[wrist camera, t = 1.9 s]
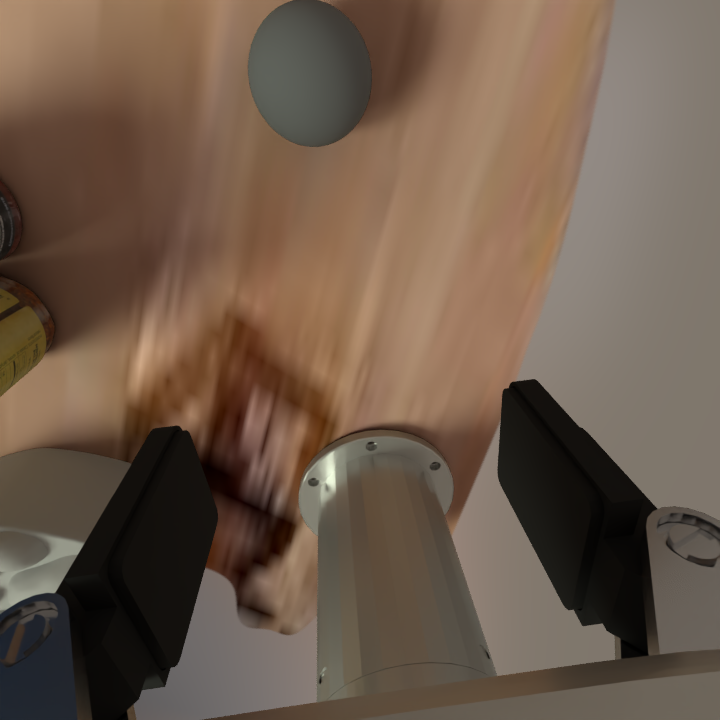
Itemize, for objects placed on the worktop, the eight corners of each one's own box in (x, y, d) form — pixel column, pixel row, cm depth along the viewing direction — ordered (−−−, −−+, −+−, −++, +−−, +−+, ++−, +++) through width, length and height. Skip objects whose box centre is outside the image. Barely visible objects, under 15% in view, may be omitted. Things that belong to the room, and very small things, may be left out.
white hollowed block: (151, 555, 37) (106, 664, 29) (-19, 534, 34) (-117, 647, 27) (163, 464, 32) (114, 565, 25) (-31, 432, 30) (-152, 533, 22)
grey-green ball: (370, 140, 23) (383, 140, 18) (268, 151, 23) (254, 154, 18) (360, 12, 21) (372, -29, 16) (246, 23, 21) (222, -14, 16)
